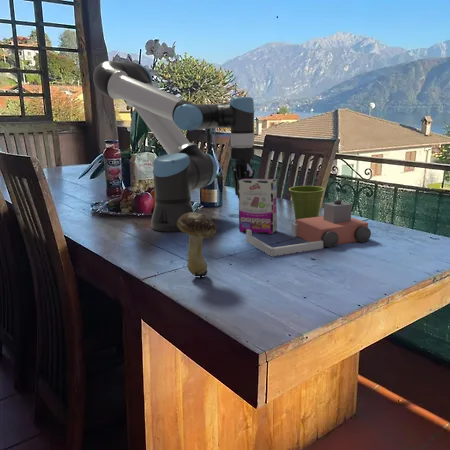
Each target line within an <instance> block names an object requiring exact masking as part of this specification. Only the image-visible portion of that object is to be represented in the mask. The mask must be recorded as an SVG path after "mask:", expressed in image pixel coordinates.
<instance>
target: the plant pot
mask: <svg viewBox="0 0 450 450" xmlns="http://www.w3.org/2000/svg"><path fill="white" fill-rule="evenodd" d="M325 190H326V188H325V187H322V186H320V185H319V186H317V185H298V186H291V187H289V188H288V191H289V192H290V197H291V200H292V205H293V213H294V219H295V220H294V221H296V219H303V218H311V217H319V213H320V207H321V201H322V197H323V194H324V191H325Z"/></svg>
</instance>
